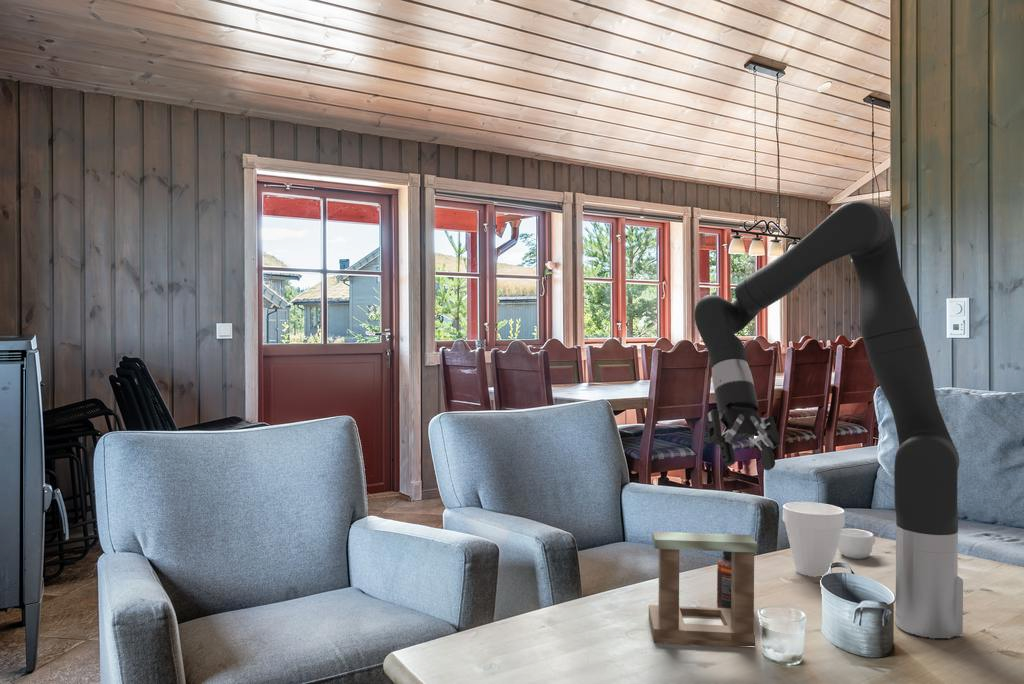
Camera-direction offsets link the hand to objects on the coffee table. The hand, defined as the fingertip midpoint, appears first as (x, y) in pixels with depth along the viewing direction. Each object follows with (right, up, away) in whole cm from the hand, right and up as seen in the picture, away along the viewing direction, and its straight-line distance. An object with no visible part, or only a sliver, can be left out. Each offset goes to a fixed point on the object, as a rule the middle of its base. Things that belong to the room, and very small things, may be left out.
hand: (750, 466), depth 135 cm
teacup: (+36, -26, +34) cm, 56 cm away
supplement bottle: (-3, -26, -1) cm, 26 cm away
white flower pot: (+20, -26, +21) cm, 39 cm away
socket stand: (-12, -26, -12) cm, 31 cm away
